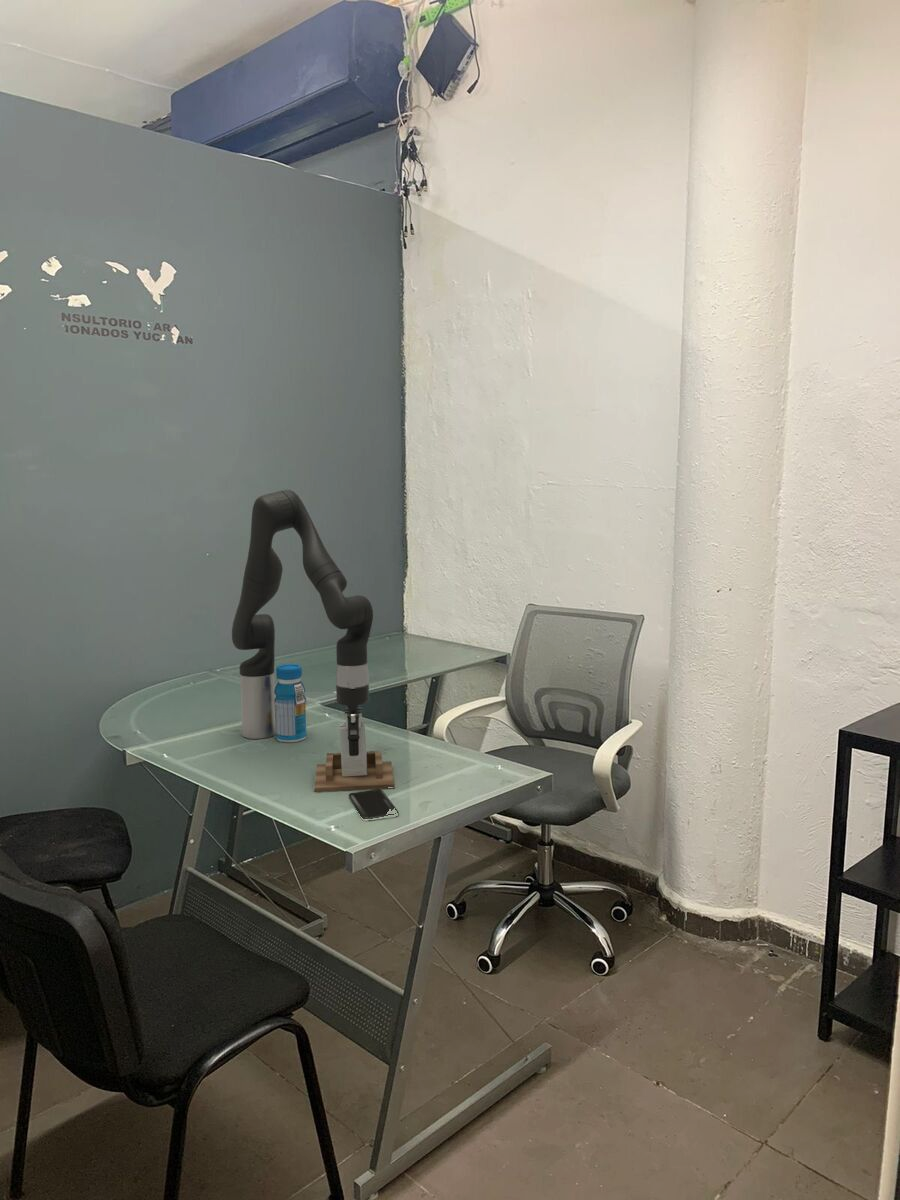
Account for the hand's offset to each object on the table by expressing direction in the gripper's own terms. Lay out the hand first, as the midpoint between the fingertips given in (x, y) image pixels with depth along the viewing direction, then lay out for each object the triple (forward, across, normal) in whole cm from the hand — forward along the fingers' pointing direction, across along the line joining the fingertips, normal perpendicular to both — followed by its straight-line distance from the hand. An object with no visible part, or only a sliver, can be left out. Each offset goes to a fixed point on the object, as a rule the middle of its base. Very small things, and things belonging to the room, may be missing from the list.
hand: (354, 749), depth 203 cm
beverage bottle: (+7, -33, -17) cm, 38 cm away
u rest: (+7, 0, 0) cm, 7 cm away
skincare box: (+6, 0, 0) cm, 6 cm away
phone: (+7, +18, +4) cm, 20 cm away
